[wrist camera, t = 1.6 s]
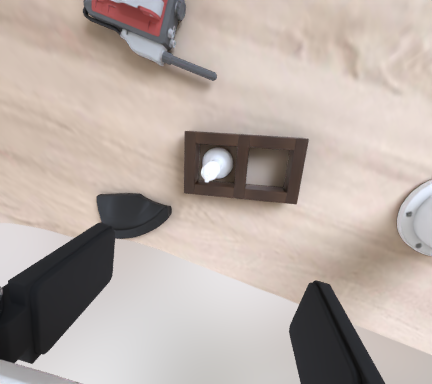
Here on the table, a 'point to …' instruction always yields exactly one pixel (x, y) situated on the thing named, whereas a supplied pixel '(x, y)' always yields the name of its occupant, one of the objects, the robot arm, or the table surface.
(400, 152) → the table surface
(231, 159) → the chess piece
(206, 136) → the rack
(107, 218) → the curved wedge
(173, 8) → the walkie-talkie
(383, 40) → the table surface
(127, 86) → the table surface
